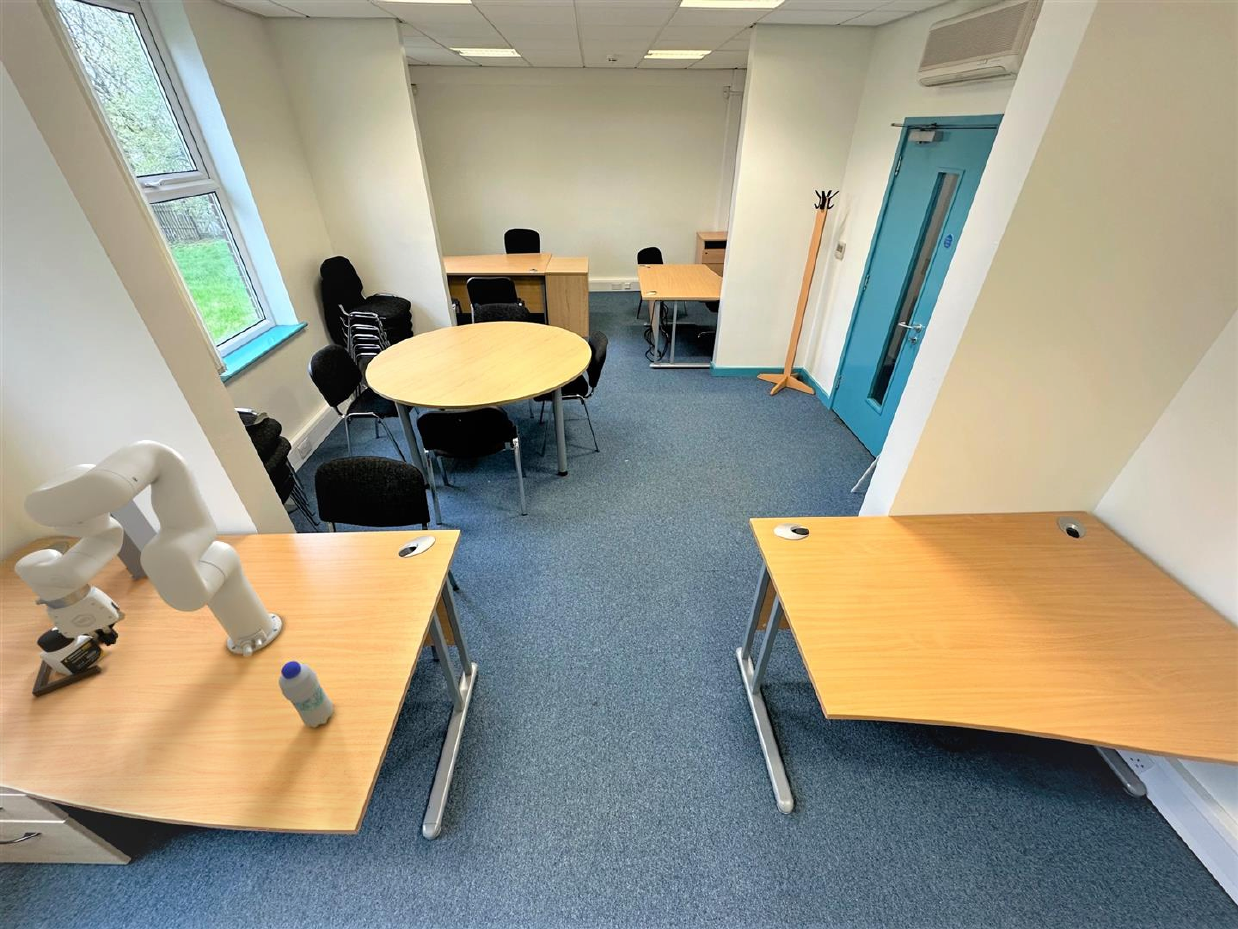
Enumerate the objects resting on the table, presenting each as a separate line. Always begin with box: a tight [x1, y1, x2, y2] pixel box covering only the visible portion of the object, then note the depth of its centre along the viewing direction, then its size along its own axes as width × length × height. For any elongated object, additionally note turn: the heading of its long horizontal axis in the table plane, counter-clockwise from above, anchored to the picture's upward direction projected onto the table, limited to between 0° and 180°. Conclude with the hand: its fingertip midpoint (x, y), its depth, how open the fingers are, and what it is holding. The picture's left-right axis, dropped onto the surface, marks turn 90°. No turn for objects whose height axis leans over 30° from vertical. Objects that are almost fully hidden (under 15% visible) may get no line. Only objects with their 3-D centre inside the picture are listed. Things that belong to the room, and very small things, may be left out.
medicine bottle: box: [36, 626, 107, 676], centre depth 122 cm, size 7×7×12 cm
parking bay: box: [31, 637, 103, 699], centre depth 124 cm, size 13×12×2 cm
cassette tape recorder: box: [110, 498, 158, 581], centre depth 149 cm, size 14×6×25 cm, turn 28°
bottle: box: [278, 660, 334, 728], centre depth 108 cm, size 7×7×20 cm
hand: (112, 641), depth 127 cm, fingers closed
